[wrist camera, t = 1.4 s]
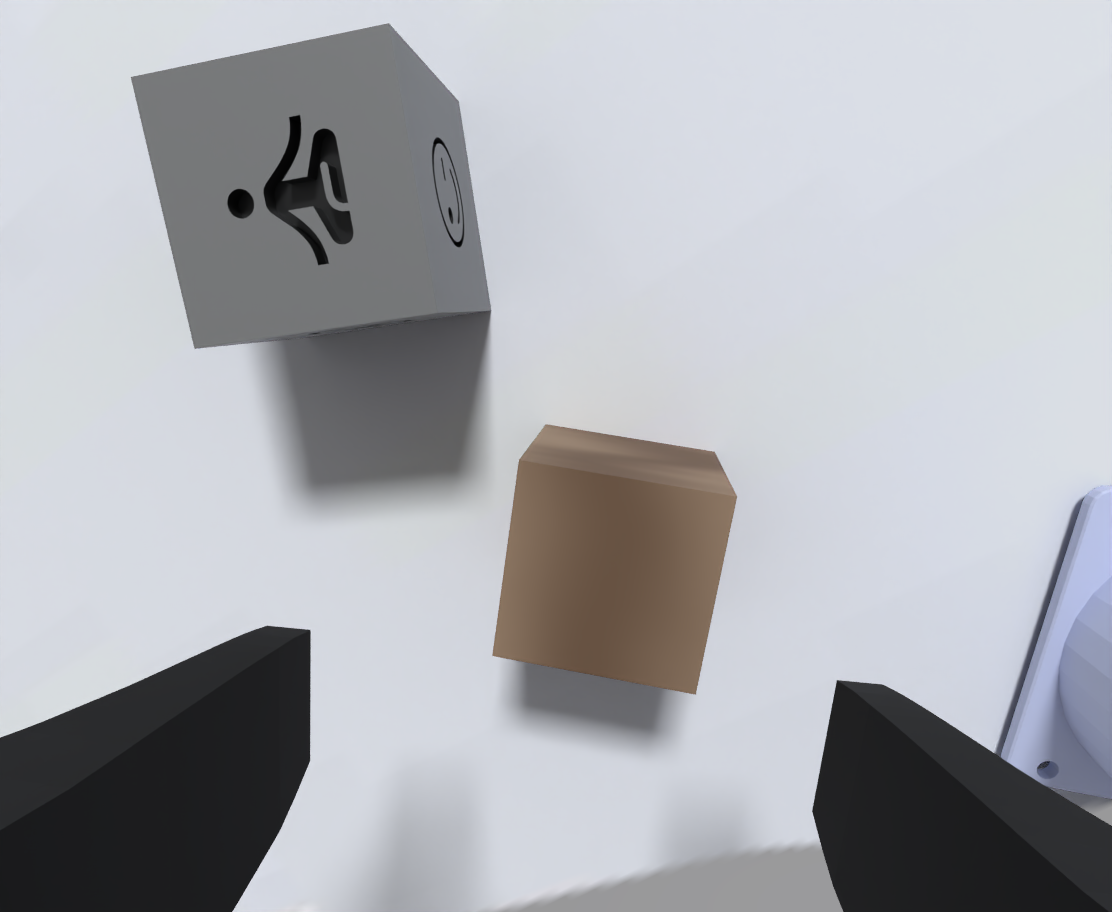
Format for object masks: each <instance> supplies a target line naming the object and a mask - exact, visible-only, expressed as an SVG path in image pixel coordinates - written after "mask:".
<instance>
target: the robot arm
mask: <svg viewBox="0 0 1112 912" xmlns="http://www.w3.org/2000/svg"><path fill="white" fill-rule="evenodd" d="M1044 761H1050V763H1049V765H1048V766H1047V767H1045V768H1043V769H1037V767H1038V766H1039V764H1040V763H1042V762H1044ZM309 762H310V630H305V629H294V628H284V627H273V626H265V627H262V628H259V629H256V630H253V631H250V632H248V633H245V634H243V635H241V636H238V637H236V638H233V639H231V640H229V641H227V642H224V643H222V644H220V645H218V646H215V647H213V648H211V649H209V650H207V651H204V652H202V653H200V654H198V655H196V656H194V657H191V658H189V659H187V660H185V661H183V662H180V663H178V664H176V665H174V666H172V667H169V668H167V669H165V670H163V671H161V672H158V673H156V674H154V675H152V676H150V677H147V678H145V679H143V680H141V681H139V682H137V683H134V684H132V685H130V686H127V687H125V688H123V689H120V690H118V691H115V692H113V693H111V694H108V695H106V696H104V697H101V698H99V699H96V700H94V701H92V702H89V703H87V704H84V705H82V706H80V707H77V708H75V709H72V710H70V711H68V712H65V713H63V714H60V715H58V716H56V717H53V718H51V719H48V720H46V721H44V722H41V723H38V724H36V725H33V726H31V727H28V728H25V729H23V730H20V731H17V732H15V733H12V734H9V735H6V736H4V737H1V738H0V912H232V911H233V910H234V908H235V906H236V905H237V903H238V901H239V900H240V898H241V896H242V895H243V893H244V891H245V889H246V888H247V886H248V884H249V883H250V881H251V879H252V878H253V876H254V874H255V872H256V871H257V869H258V867H259V866H260V864H261V862H262V861H263V859H264V857H265V855H266V854H267V852H268V850H269V849H270V847H271V845H272V843H273V842H274V840H275V838H276V836H277V835H278V833H279V831H280V829H281V827H282V825H283V823H284V820H285V818H286V816H287V814H288V811H289V809H290V807H291V805H292V803H293V800H294V798H295V796H296V793H297V791H298V789H299V786H300V784H301V781H302V779H303V777H304V774H305V772H306V769H307V767H308V765H309ZM1048 787H1051V788H1057V789H1062V790H1067V791H1072V792H1077V793H1083V794H1088V795H1093V796H1098V797H1103V798H1108V799H1112V486H1111V485H1110V486H1100V487H1097V488H1094V489H1093V490H1091V491H1090V492H1089V493H1088V494H1087V495H1086V497H1085V498H1084V500H1083V502H1082V505H1081V508H1080V511H1079V514H1078V517H1077V521H1076V524H1075V527H1074V530H1073V533H1072V536H1071V539H1070V542H1069V545H1068V548H1067V552H1066V555H1065V558H1064V561H1063V564H1062V567H1061V570H1060V573H1059V576H1058V579H1057V582H1056V586H1055V589H1054V592H1053V595H1052V598H1051V601H1050V604H1049V607H1048V610H1047V613H1046V617H1045V620H1044V623H1043V626H1042V629H1041V632H1040V635H1039V638H1038V641H1037V644H1036V648H1035V651H1034V654H1033V657H1032V660H1031V663H1030V666H1029V669H1028V672H1027V675H1026V679H1025V682H1024V685H1023V688H1022V691H1021V694H1020V697H1019V700H1018V703H1017V706H1016V709H1015V713H1014V716H1013V719H1012V722H1011V725H1010V728H1009V731H1008V734H1007V737H1006V740H1005V744H1004V747H1003V750H1002V753H1001V758H1000V757H999V756H997V755H996V754H994V753H993V752H991V751H990V750H988V749H987V748H985V747H984V746H982V745H980V744H979V743H977V742H976V741H974V740H973V739H971V738H970V737H968V736H967V735H965V734H964V733H962V732H961V731H959V730H957V729H956V728H954V727H953V726H951V725H950V724H948V723H947V722H945V721H944V720H942V719H941V718H939V717H937V716H936V715H934V714H933V713H931V712H930V711H928V710H926V709H925V708H923V707H922V706H920V705H918V704H917V703H915V702H914V701H912V700H910V699H909V698H907V697H905V696H903V695H902V694H900V693H898V692H896V691H894V690H892V689H890V688H888V687H886V686H884V685H881V684H870V683H860V682H849V681H839V680H837V683H836V688H835V694H834V699H833V704H832V709H831V715H830V720H829V725H828V731H827V736H826V741H825V746H824V752H823V757H822V762H821V768H820V773H819V778H818V784H817V789H816V794H815V799H814V805H813V810H812V812H813V816H814V819H815V823H816V827H817V831H818V834H819V838H820V842H821V846H822V850H823V853H824V856H825V860H826V863H827V866H828V870H829V873H830V877H831V880H832V884H833V887H834V889H835V891H836V894H837V897H838V899H839V902H840V904H841V907H842V909H843V912H1112V826H1111V825H1109V824H1107V823H1105V822H1104V821H1102V820H1100V819H1099V818H1097V817H1096V816H1094V815H1092V814H1091V813H1089V812H1087V811H1085V810H1084V809H1082V808H1080V807H1079V806H1077V805H1075V804H1074V803H1072V802H1070V801H1069V800H1067V799H1065V798H1064V797H1062V796H1061V795H1059V794H1057V793H1056V792H1054V791H1053V790H1051V789H1049V788H1048Z"/></svg>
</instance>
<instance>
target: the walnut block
mask: <svg viewBox="0 0 1112 912" xmlns="http://www.w3.org/2000/svg"><path fill="white" fill-rule="evenodd" d="M736 499H737V496H736V494H735V492H734V490H733V488H732V486H731V484H730V482H729V480H728V478H727V476H726V474H725V472H724V470H723V468H722V466H721V464H720V462H719V460H718V458H717V456H716V454H715V452H712V451H706V450H700V449H694V448H687V447H681V446H675V445H669V444H663V443H657V442H651V441H644V440H638V439H632V438H626V437H620V436H614V435H608V434H601V433H595V432H589V431H583V430H577V429H571V428H565V427H558V426H552V425H545V426H544V428H543V429H542V430H541V432H540V433H539V434H538V436H537V437H536V438H535V440H534V441H533V442H532V444H531V445H530V446H529V448H528V449H527V450H526V452H525V453H524V454H523V455H522V457H521V458H520V459H519V464H518V471H517V479H516V486H515V493H514V501H513V508H512V516H511V523H510V530H509V538H508V545H507V552H506V560H505V567H504V575H503V582H502V589H501V597H500V604H499V611H498V619H497V626H496V633H495V641H494V648H493V656H496V657H501V658H506V659H512V660H517V661H522V662H527V663H533V664H538V665H543V666H548V667H554V668H559V669H564V670H570V671H575V672H580V673H585V674H591V675H596V676H601V677H606V678H612V679H617V680H622V681H627V682H633V683H638V684H643V685H649V686H654V687H659V688H664V689H670V690H675V691H680V692H685V693H691V694H696V690H697V685H698V680H699V676H700V671H701V666H702V661H703V657H704V652H705V647H706V642H707V637H708V633H709V628H710V623H711V618H712V614H713V609H714V604H715V599H716V594H717V590H718V585H719V580H720V575H721V571H722V566H723V561H724V556H725V551H726V547H727V542H728V537H729V532H730V528H731V523H732V518H733V513H734V508H735V504H736Z"/></svg>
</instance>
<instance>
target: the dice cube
mask: <svg viewBox="0 0 1112 912" xmlns="http://www.w3.org/2000/svg"><path fill="white" fill-rule="evenodd" d="M131 80H132V84H133V88H134V92H135V97H136V101H137V105H138V110H139V114H140V118H141V122H142V127H143V131H144V135H145V139H146V144H147V148H148V152H149V156H150V161H151V165H152V169H153V173H154V178H155V182H156V186H157V190H158V195H159V199H160V203H161V207H162V212H163V216H164V220H165V224H166V229H167V233H168V237H169V242H170V246H171V250H172V254H173V259H174V263H175V267H176V271H177V276H178V280H179V284H180V288H181V293H182V297H183V301H184V305H185V310H186V314H187V318H188V322H189V327H190V331H191V335H192V339H193V344H194V348H195V349H196V348H206V347H216V346H226V345H236V344H246V343H256V342H266V341H277V340H287V339H297V338H307V337H314V336H321V335H328V334H334V333H341V332H348V331H355V330H362V329H369V328H375V327H382V326H389V325H396V324H403V323H410V322H416V321H423V320H430V319H437V318H444V317H451V316H457V315H464V314H471V313H478V312H485V311H491V306H490V300H489V293H488V287H487V280H486V274H485V268H484V261H483V255H482V248H481V242H480V235H479V229H478V223H477V216H476V210H475V203H474V197H473V190H472V184H471V177H470V171H469V165H468V158H467V152H466V145H465V139H464V132H463V126H462V120H461V113H460V107H459V101H458V100H457V99H456V98H455V97H454V96H453V94H452V93H451V92H450V91H449V90H448V89H447V88H446V87H445V85H444V84H443V83H442V82H441V81H440V80H439V79H438V78H437V77H436V75H435V74H434V73H433V72H432V71H431V70H430V69H429V68H428V66H427V65H426V64H425V63H424V62H423V61H422V60H421V59H420V58H419V56H418V55H417V54H416V53H415V52H414V51H413V50H412V49H411V48H410V46H409V45H408V44H407V43H406V42H405V41H404V40H403V39H402V37H401V36H400V35H399V34H398V33H397V32H396V31H395V30H394V29H393V27H392V26H391V25H390V24H389V23H388V24H384V25H379V26H374V27H369V28H364V29H360V30H355V31H350V32H345V33H340V34H336V35H331V36H326V37H321V38H316V39H312V40H307V41H302V42H297V43H292V44H288V45H283V46H278V47H273V48H269V49H264V50H259V51H254V52H249V53H245V54H240V55H235V56H230V57H225V58H221V59H216V60H211V61H206V62H201V63H197V64H192V65H187V66H182V67H177V68H173V69H168V70H163V71H158V72H154V73H149V74H144V75H139V76H134V77H131Z"/></svg>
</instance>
